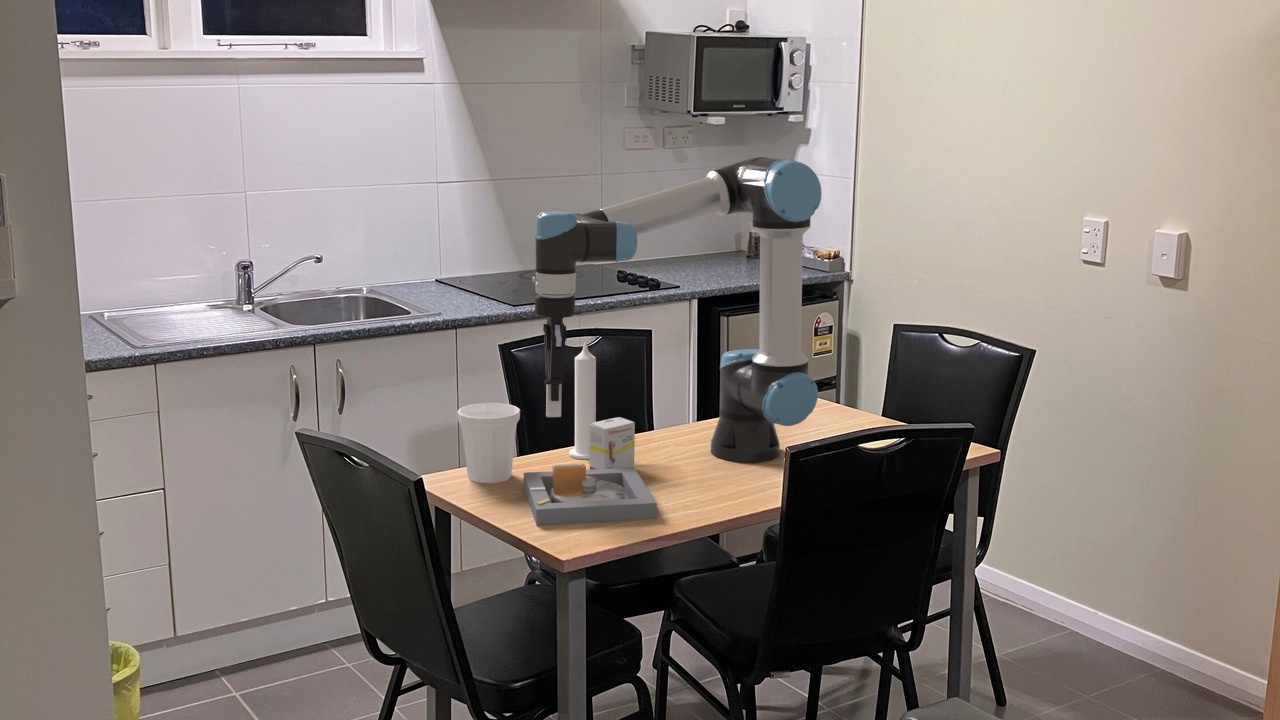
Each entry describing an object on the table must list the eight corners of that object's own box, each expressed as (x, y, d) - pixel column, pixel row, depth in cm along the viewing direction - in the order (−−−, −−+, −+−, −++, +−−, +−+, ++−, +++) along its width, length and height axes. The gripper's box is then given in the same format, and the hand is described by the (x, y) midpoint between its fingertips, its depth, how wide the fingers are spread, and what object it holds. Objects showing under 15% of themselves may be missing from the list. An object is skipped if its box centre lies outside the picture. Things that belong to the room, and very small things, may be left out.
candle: (607, 456, 271) (607, 344, 265) (577, 461, 267) (578, 347, 262) (592, 448, 277) (592, 338, 271) (563, 452, 273) (563, 341, 268)
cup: (469, 472, 258) (467, 401, 255) (527, 476, 257) (527, 404, 253) (450, 491, 246) (449, 416, 243) (511, 495, 245) (511, 420, 241)
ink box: (604, 484, 252) (604, 428, 249) (588, 479, 255) (588, 423, 253) (635, 476, 257) (636, 421, 255) (619, 470, 261) (619, 416, 258)
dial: (617, 487, 244) (617, 451, 243) (630, 511, 231) (631, 473, 229) (546, 491, 242) (546, 455, 240) (555, 515, 228) (555, 477, 227)
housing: (633, 488, 249) (634, 465, 248) (656, 526, 228) (656, 501, 227) (523, 494, 245) (523, 471, 244) (536, 533, 224) (536, 507, 223)
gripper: (531, 289, 240) (530, 408, 245) (539, 300, 227) (537, 425, 232) (570, 289, 241) (568, 407, 246) (579, 300, 229) (577, 424, 234)
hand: (553, 415), depth 239 cm, fingers closed
